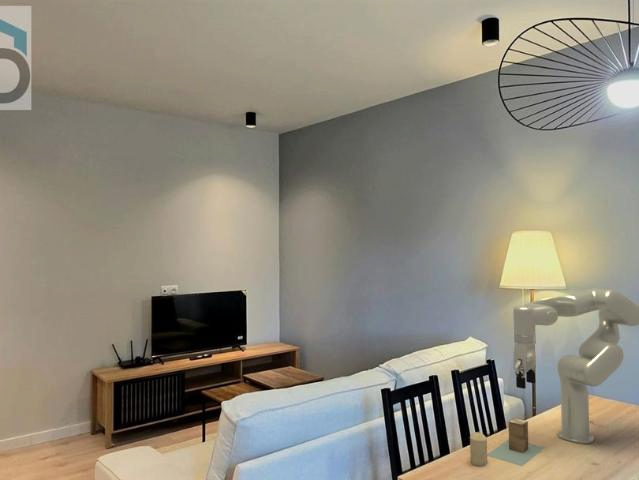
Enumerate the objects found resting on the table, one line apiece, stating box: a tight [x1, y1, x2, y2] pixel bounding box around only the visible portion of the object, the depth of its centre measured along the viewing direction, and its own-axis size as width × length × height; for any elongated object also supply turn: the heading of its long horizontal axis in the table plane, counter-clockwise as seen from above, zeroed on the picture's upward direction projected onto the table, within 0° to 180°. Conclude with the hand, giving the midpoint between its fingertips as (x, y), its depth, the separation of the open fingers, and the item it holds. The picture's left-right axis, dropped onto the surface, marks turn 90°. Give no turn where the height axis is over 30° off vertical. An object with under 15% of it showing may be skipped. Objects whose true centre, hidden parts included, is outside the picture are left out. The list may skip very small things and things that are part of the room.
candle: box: [469, 431, 488, 467], centre depth 168 cm, size 6×6×10 cm
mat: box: [487, 439, 546, 467], centre depth 176 cm, size 21×13×1 cm, turn 136°
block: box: [508, 417, 529, 453], centre depth 178 cm, size 5×5×10 cm
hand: (526, 385), depth 184 cm, fingers open, 8 cm apart
